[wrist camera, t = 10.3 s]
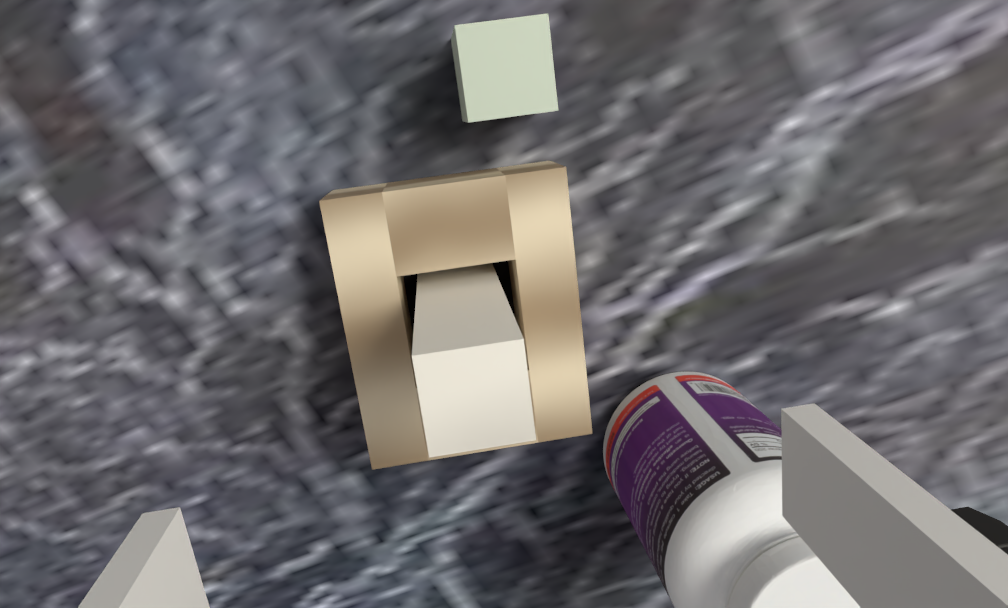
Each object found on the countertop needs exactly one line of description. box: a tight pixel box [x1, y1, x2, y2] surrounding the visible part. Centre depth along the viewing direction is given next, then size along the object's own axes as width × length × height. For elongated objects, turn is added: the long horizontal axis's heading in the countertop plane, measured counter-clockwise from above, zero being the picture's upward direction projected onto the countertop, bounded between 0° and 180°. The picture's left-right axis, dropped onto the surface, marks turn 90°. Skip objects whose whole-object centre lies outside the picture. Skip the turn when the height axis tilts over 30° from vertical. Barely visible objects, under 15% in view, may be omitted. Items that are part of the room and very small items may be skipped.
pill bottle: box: [603, 372, 861, 608], centre depth 30 cm, size 8×8×14 cm
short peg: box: [451, 14, 558, 123], centre depth 29 cm, size 4×4×5 cm
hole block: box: [319, 161, 593, 470], centre depth 32 cm, size 12×10×4 cm
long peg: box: [412, 263, 536, 458], centre depth 28 cm, size 4×4×12 cm
